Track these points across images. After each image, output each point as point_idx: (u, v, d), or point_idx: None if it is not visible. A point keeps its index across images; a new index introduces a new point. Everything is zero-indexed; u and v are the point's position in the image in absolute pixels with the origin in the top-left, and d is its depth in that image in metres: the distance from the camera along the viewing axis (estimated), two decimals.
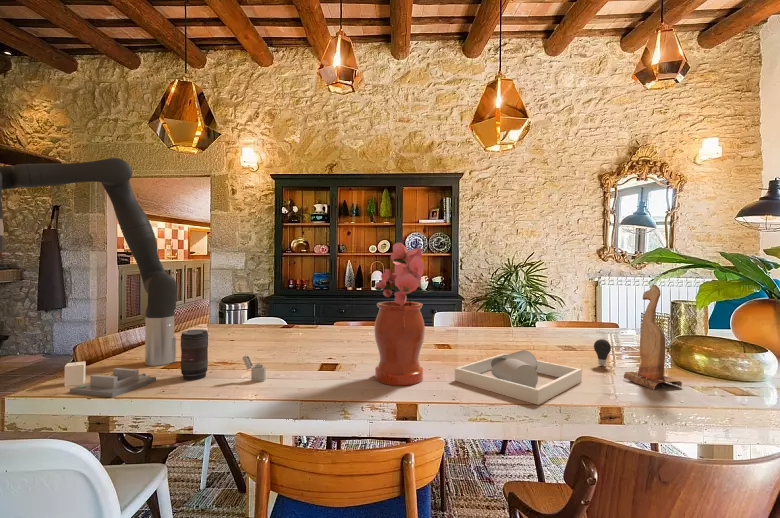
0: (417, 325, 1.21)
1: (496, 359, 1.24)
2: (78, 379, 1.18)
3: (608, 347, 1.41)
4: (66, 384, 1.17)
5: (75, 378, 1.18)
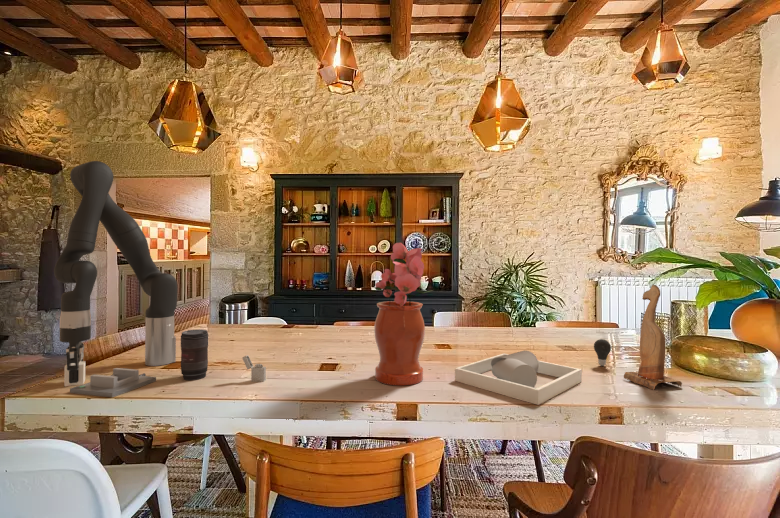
0: (417, 325, 1.21)
1: (496, 359, 1.24)
2: None
3: (608, 347, 1.41)
4: (66, 384, 1.17)
5: None
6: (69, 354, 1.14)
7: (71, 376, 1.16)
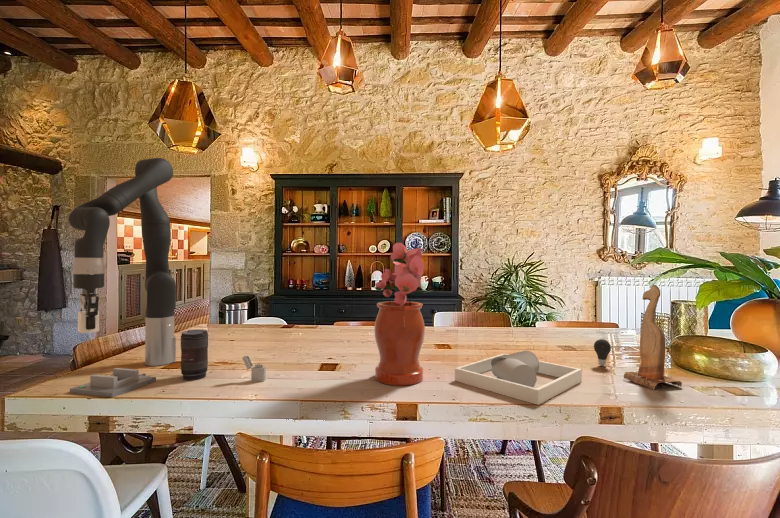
0: (417, 325, 1.21)
1: (496, 359, 1.24)
2: None
3: (608, 347, 1.41)
4: (82, 331, 1.16)
5: None
6: (91, 299, 1.14)
7: (89, 322, 1.16)
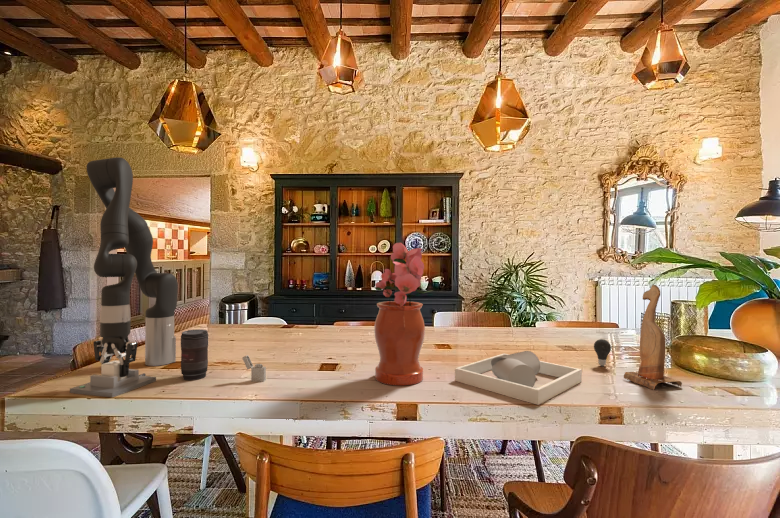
0: (417, 325, 1.21)
1: (496, 359, 1.24)
2: None
3: (608, 347, 1.41)
4: None
5: None
6: (132, 345, 1.15)
7: (125, 369, 1.15)
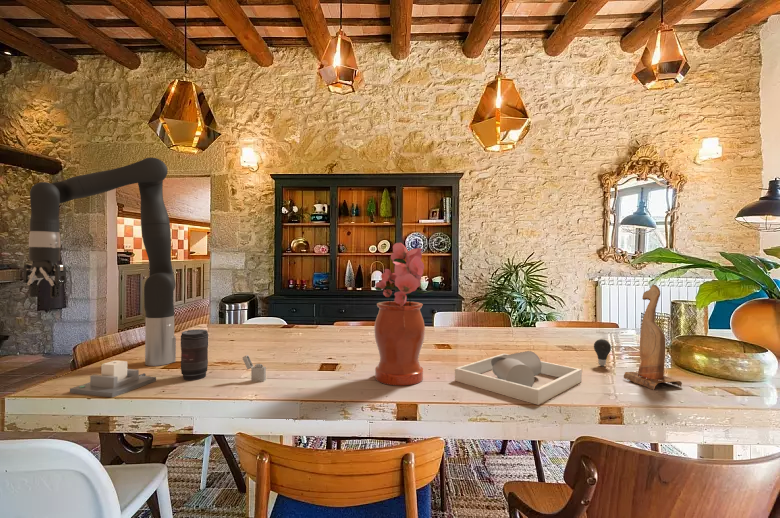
0: (417, 325, 1.21)
1: (496, 358, 1.25)
2: (124, 376, 1.17)
3: (608, 347, 1.41)
4: None
5: (121, 376, 1.16)
6: (60, 266, 1.21)
7: (56, 290, 1.21)
